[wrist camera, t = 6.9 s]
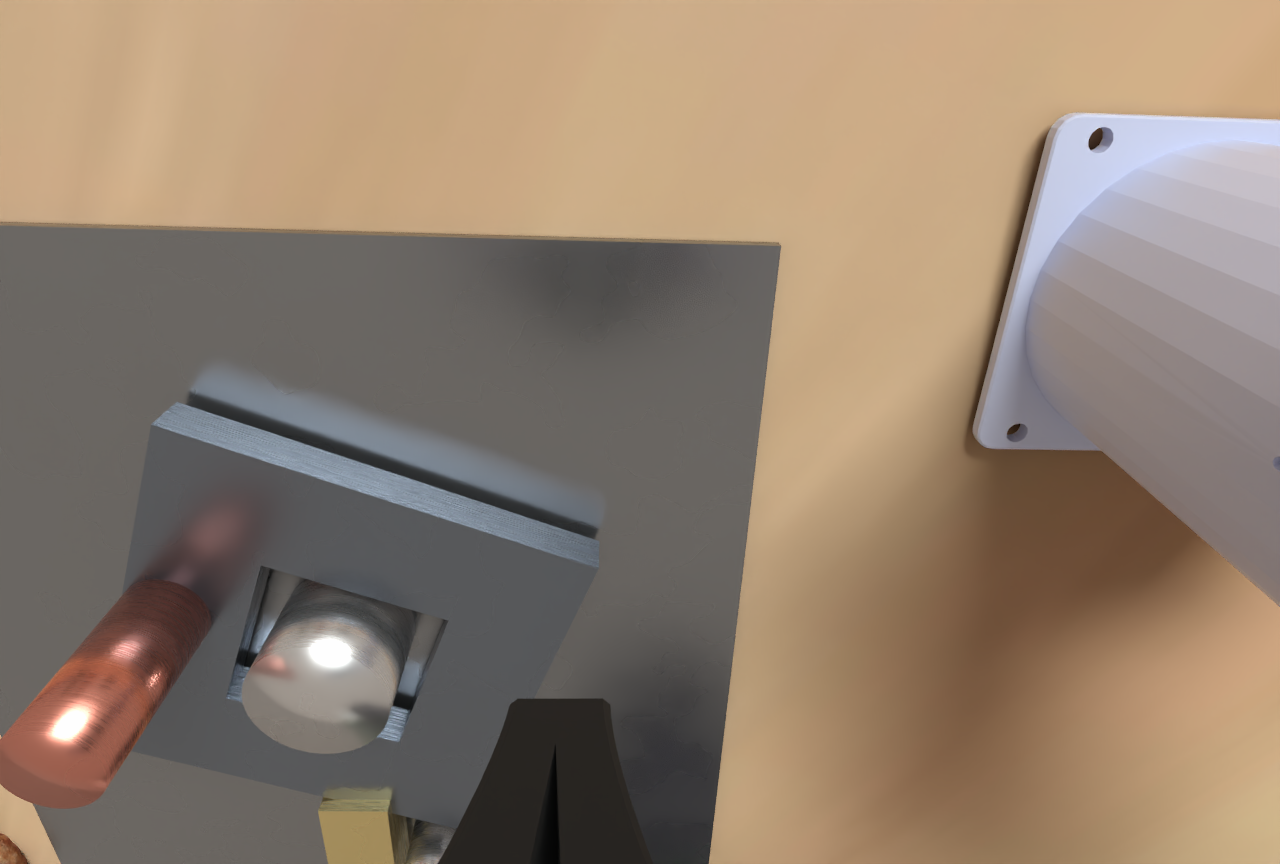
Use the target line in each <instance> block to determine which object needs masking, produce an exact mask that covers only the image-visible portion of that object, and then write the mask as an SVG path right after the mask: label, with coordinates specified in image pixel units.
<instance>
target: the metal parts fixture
mask: <svg viewBox="0 0 1280 864" xmlns="http://www.w3.org/2000/svg"><path fill="white" fill-rule="evenodd" d="M270 568H271V569H274V570H278V571H281V572H285V573H288V574H291V575H295V576H298V577H302V578H305V579H308V580H312V581H315V582H319V583H322V584H325V585H329V586H332V587H336V588H339V589H342V590H346V591H349V592H353V593H356V594H359V595H363V596H366V597H370V598H373V599H376V600H380V601H383V602H386V603H390V604H393V605H397V606H400V607H403V608H407V609H410V610H414V611H417V612H420V613H424V614H427V615H431V616H434V617H437V618H441V619H444V620H445V621H444V623H443V626H442V628H441V631H440V633H439V636H438V638H437V641H436V643H435V646H434V648H433V651H432V653H431V655H430V658H429V660H428V663H427V665H426V668H425V670H424V673H423V675H422V678H421V680H420V683H419V685H418V688H417V690H416V692H415V695H414V697H413V700H412V702H411V705H410V707H409V710H406V709H402V708H398V707H395V706H392V709H391V712H390V715H389V718H388V721H387V724H386V726H385V728H384V729H383V731H382V732H381V733H380V734H379V735H378V736H377V737H376V738H375V739H374V740H372V741H371V742H370V743H368V744H366V745H364V746H362V747H360V748H357V749H355V750H351V751H347V752H342V753H334V754H318V753H310V752H305V751H300V750H297V749H293V748H290V747H288V746H285V745H283V744H281V743H279V742H277V741H275V740H273V739H272V738H270V737H269V736H267V735H266V734H264V733H263V732H262V731H261V730H260V729H259V728H258V727H257V726H256V725H255V724H254V723H253V722H252V721H251V719H250V718H249V716H248V715H247V713H246V711H245V708H244V706H243V702H242V697H241V695H242V685H243V681H244V679H245V677H246V675H247V673H248V671H249V669H250V668H249V667H245V666H244V664H245V660H246V656H247V653H248V649H249V645H250V642H251V638H252V634H253V631H254V627H255V623H256V619H257V616H258V612H259V608H260V605H261V601H262V597H263V594H264V590H265V586H266V583H267V579H268V575H269V571H270ZM598 569H599V541H597V540H594V539H591V538H588V537H585V536H582V535H579V534H576V533H573V532H570V531H567V530H564V529H561V528H558V527H555V526H552V525H549V524H546V523H543V522H540V521H537V520H534V519H531V518H528V517H525V516H522V515H519V514H515V513H512V512H509V511H506V510H503V509H500V508H497V507H494V506H491V505H488V504H485V503H482V502H479V501H476V500H473V499H470V498H467V497H464V496H461V495H458V494H455V493H452V492H449V491H446V490H443V489H440V488H437V487H434V486H431V485H428V484H425V483H422V482H419V481H415V480H412V479H409V478H406V477H403V476H400V475H397V474H394V473H391V472H388V471H385V470H382V469H379V468H376V467H373V466H370V465H367V464H364V463H361V462H358V461H355V460H352V459H349V458H346V457H343V456H340V455H337V454H334V453H331V452H328V451H325V450H322V449H319V448H315V447H312V446H309V445H306V444H303V443H300V442H297V441H294V440H291V439H288V438H285V437H282V436H279V435H276V434H273V433H270V432H267V431H264V430H261V429H258V428H255V427H252V426H249V425H246V424H243V423H240V422H237V421H234V420H231V419H228V418H225V417H222V416H219V415H215V414H212V413H209V412H206V411H203V410H200V409H197V408H194V407H191V406H188V405H185V404H182V403H179V402H176V403H175V404H174V405H173V406H172V407H170V408H169V409H168V410H167V411H166V412H165V413H164V414H162V415H161V416H160V417H159V418H158V419H157V420H156V421H155V422H153V423H152V424H151V428H150V434H149V440H148V445H147V451H146V457H145V463H144V469H143V475H142V480H141V486H140V492H139V498H138V504H137V510H136V515H135V521H134V527H133V533H132V539H131V545H130V550H129V556H128V562H127V568H126V574H125V580H124V585H123V591H122V596H121V597H120V598H119V599H118V601H117V602H116V603H115V604H114V605H113V607H112V608H111V609H110V610H109V611H108V612H107V614H106V615H105V616H104V617H103V618H102V620H101V621H100V622H99V623H98V624H97V625H96V627H95V628H94V629H93V630H92V631H91V633H90V634H89V635H88V636H87V637H86V638H85V640H84V641H83V642H82V643H81V644H80V646H79V647H78V648H77V649H76V650H75V652H74V653H73V654H72V655H71V656H70V657H69V659H68V660H67V661H66V662H65V663H64V665H63V666H62V667H61V668H60V669H59V670H58V672H57V673H56V674H55V675H54V676H53V678H52V679H51V680H50V681H49V682H48V683H47V685H46V686H45V687H44V688H43V689H42V691H41V692H40V693H39V694H38V695H37V697H36V698H35V699H34V700H33V701H32V702H31V704H30V705H29V706H28V707H27V708H26V710H25V711H24V712H23V713H22V714H21V715H20V717H19V718H18V719H17V720H16V721H15V723H14V724H13V725H12V726H11V727H10V728H9V730H8V731H7V732H6V733H5V734H4V736H3V737H2V738H1V739H0V784H1V785H2V786H3V787H4V788H5V789H7V790H8V791H9V792H11V793H12V794H14V795H16V796H17V797H19V798H21V799H23V800H26V801H28V802H31V803H34V804H36V805H40V806H44V807H50V808H58V809H69V808H78V807H82V806H86V805H88V804H91V803H93V802H94V801H96V800H97V799H98V798H100V797H101V795H102V794H103V793H104V791H105V790H106V788H107V787H108V785H109V784H110V782H111V781H112V779H113V778H114V776H115V775H116V773H117V772H118V770H119V768H120V767H121V765H122V764H123V762H124V761H125V759H126V758H127V756H128V755H129V753H130V752H131V751H133V752H137V753H141V754H145V755H149V756H154V757H158V758H162V759H166V760H170V761H175V762H179V763H183V764H187V765H191V766H196V767H200V768H204V769H208V770H212V771H217V772H221V773H225V774H229V775H233V776H237V777H242V778H246V779H250V780H254V781H258V782H263V783H267V784H271V785H275V786H279V787H284V788H288V789H292V790H296V791H300V792H305V793H309V794H313V795H317V796H321V797H323V799H322V802H321V804H320V807H319V810H318V814H319V819H320V824H321V829H322V835H323V840H324V845H325V850H326V855H327V860H328V864H405V861H406V857H407V853H408V849H409V839H408V830H407V822H406V817H410V818H414V819H418V820H422V821H426V822H431V823H435V824H439V825H443V826H447V827H452V828H456V829H457V827H458V825H459V823H460V821H461V819H462V817H463V815H464V813H465V811H466V809H467V807H468V805H469V803H470V801H471V799H472V797H473V795H474V793H475V791H476V789H477V787H478V785H479V783H480V781H481V779H482V776H483V774H484V772H485V770H486V767H487V765H488V763H489V761H490V758H491V756H492V754H493V751H494V749H495V746H496V744H497V741H498V739H499V736H500V733H501V731H502V728H503V725H504V722H505V719H506V716H507V713H508V709H509V706H510V704H511V703H513V702H514V701H515V700H516V699H534V698H535V696H536V694H537V692H538V690H539V688H540V686H541V684H542V682H543V680H544V678H545V676H546V674H547V672H548V670H549V668H550V666H551V664H552V662H553V660H554V658H555V656H556V654H557V652H558V650H559V648H560V646H561V644H562V642H563V640H564V638H565V636H566V634H567V632H568V630H569V628H570V626H571V624H572V622H573V620H574V618H575V616H576V614H577V612H578V609H579V607H580V605H581V603H582V601H583V599H584V597H585V595H586V593H587V591H588V589H589V587H590V585H591V583H592V581H593V579H594V577H595V575H596V573H597V571H598Z"/></svg>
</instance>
